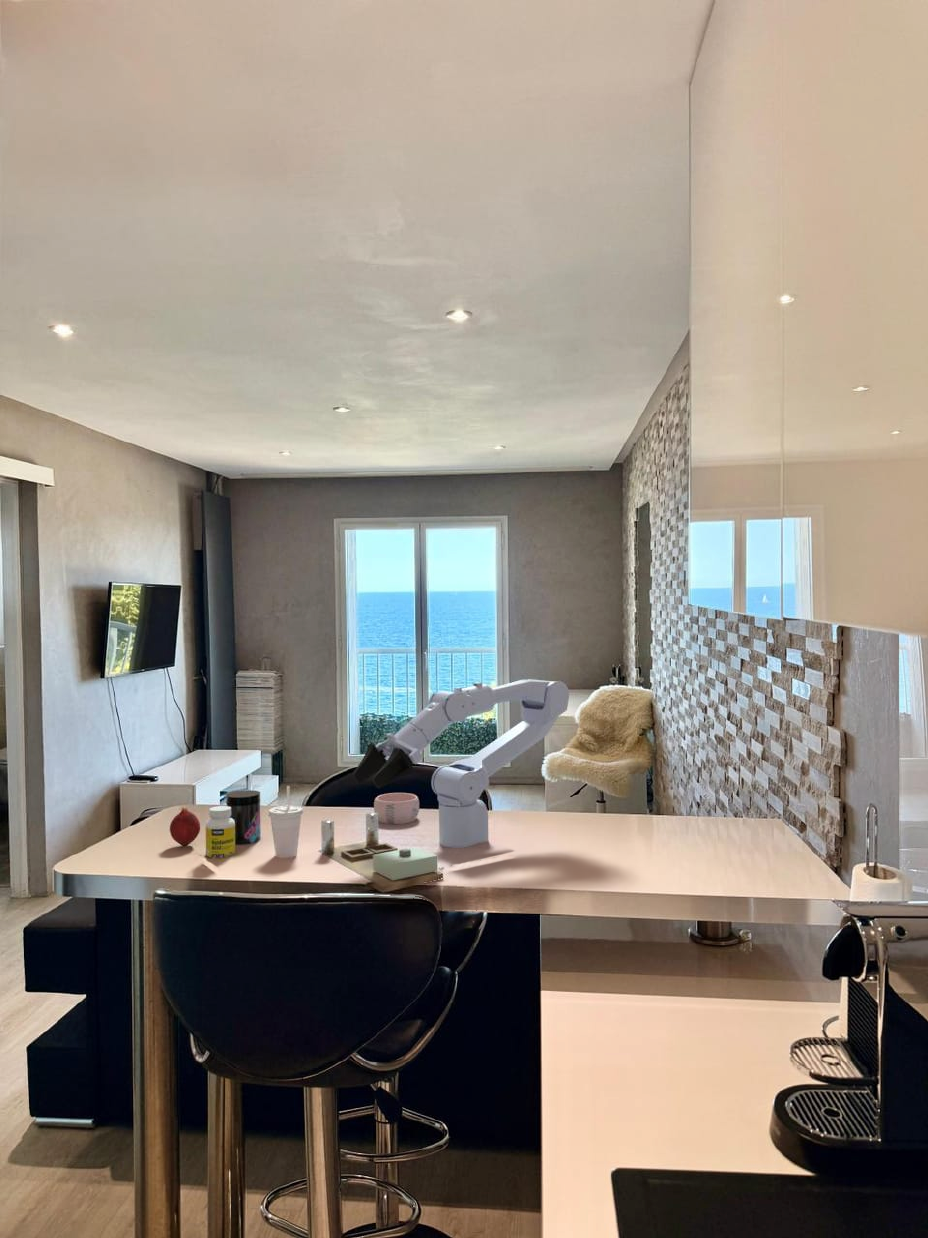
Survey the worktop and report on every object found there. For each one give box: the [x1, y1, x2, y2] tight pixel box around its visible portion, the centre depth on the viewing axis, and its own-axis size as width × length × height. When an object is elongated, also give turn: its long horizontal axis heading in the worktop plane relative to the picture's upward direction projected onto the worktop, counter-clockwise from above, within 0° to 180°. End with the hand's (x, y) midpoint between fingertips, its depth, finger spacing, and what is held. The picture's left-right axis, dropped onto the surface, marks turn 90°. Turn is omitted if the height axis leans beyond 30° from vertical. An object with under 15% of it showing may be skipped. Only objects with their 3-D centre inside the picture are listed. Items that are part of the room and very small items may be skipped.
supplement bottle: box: [205, 805, 236, 863], centre depth 160 cm, size 5×5×10 cm
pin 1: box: [320, 819, 335, 856], centre depth 160 cm, size 2×2×6 cm
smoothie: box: [268, 785, 304, 859], centre depth 159 cm, size 6×6×14 cm
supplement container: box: [225, 789, 262, 846], centre depth 170 cm, size 7×7×10 cm
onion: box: [169, 806, 201, 848], centre depth 169 cm, size 6×6×8 cm
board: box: [318, 841, 444, 893], centre depth 154 cm, size 12×26×2 cm, turn 34°
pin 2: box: [365, 812, 380, 846], centre depth 166 cm, size 2×2×6 cm
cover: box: [373, 846, 438, 880], centre depth 148 cm, size 9×7×4 cm
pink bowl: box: [373, 792, 420, 825], centre depth 187 cm, size 12×10×6 cm
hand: (365, 781), depth 154 cm, fingers open, 7 cm apart
